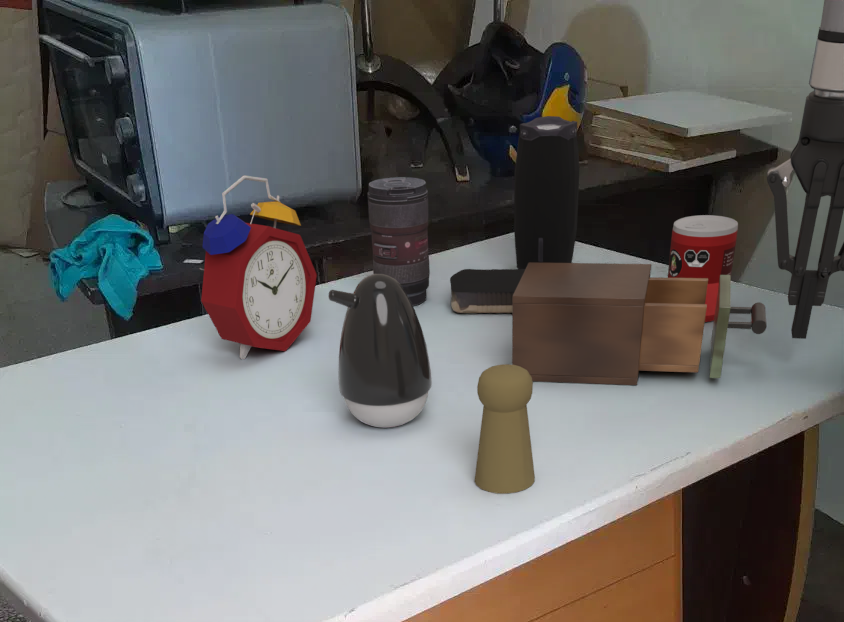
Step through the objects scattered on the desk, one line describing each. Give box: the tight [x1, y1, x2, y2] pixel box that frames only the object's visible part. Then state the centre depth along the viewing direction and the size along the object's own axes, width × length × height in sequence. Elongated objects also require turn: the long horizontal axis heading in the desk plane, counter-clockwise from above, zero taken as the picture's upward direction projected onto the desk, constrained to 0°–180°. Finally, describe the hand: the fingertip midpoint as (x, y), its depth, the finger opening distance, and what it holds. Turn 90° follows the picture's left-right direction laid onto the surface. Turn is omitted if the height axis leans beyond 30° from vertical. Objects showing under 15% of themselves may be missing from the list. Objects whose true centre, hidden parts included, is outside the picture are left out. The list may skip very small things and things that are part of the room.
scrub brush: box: [449, 268, 525, 314], centre depth 139 cm, size 16×8×4 cm, turn 80°
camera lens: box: [367, 176, 431, 307], centre depth 139 cm, size 8×8×15 cm
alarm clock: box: [198, 174, 318, 361], centre depth 126 cm, size 15×9×20 cm, turn 143°
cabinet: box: [511, 262, 652, 386], centre depth 120 cm, size 15×13×10 cm
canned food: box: [667, 214, 739, 323], centre depth 130 cm, size 8×8×11 cm
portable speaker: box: [513, 115, 581, 269], centre depth 143 cm, size 9×9×20 cm
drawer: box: [639, 275, 767, 379], centre depth 117 cm, size 18×11×8 cm, turn 77°
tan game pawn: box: [473, 363, 536, 494], centre depth 97 cm, size 6×6×11 cm
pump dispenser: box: [328, 274, 433, 429], centre depth 108 cm, size 10×10×15 cm
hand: (798, 334), depth 115 cm, fingers closed
